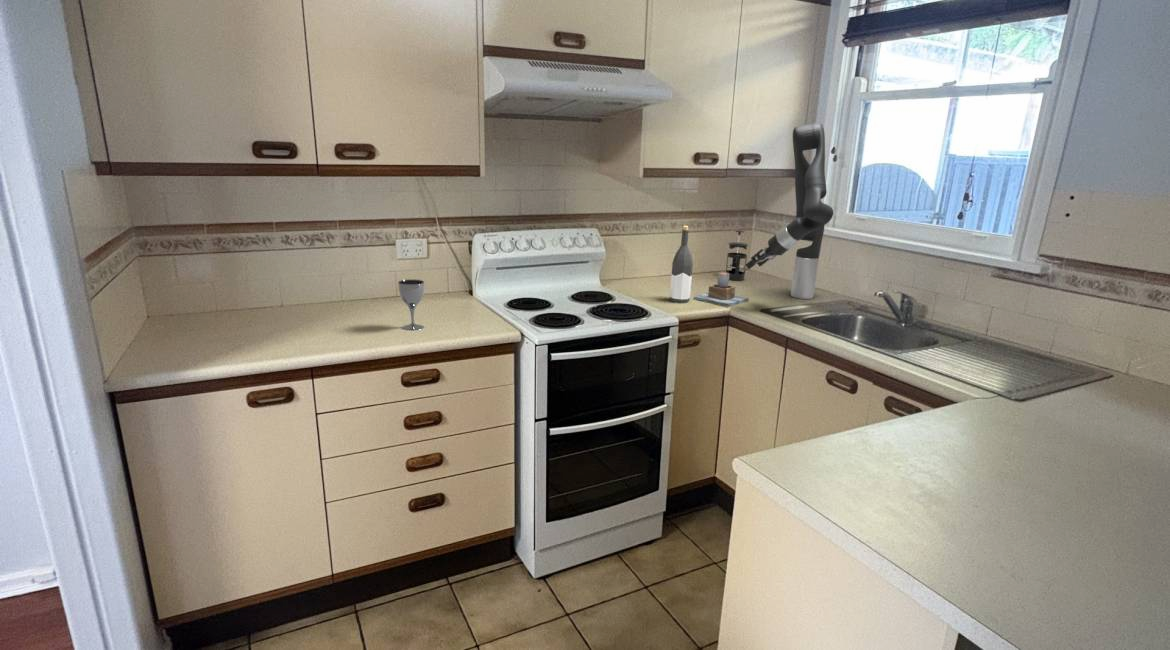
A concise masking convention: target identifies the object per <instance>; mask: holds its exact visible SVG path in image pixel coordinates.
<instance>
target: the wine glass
mask: <svg viewBox="0 0 1170 650" xmlns="http://www.w3.org/2000/svg"><path fill="white" fill-rule="evenodd" d="M397 284H398V285H397V286H398V294H399V298H400V300H401V301H402V302H403V304H405V305H406V306H407V308H408V309H409V312H410V318H411V322H410V323H408V324H405V325H404V324H403V325H402V326H401V329H402V330H406V331H419V330H423V329H424V328H425V326H424V325H423V324H419V323H415V310H416V308H417V307H418V305H419V304H420V303H421V301H422V300H423V297H424V294H425V293H424V292H425V281H424V280H422V279H418V278H417V279H415V278H411V279H400V280H398V283H397Z"/></svg>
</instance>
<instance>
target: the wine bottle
mask: <svg viewBox="0 0 1170 650" xmlns="http://www.w3.org/2000/svg"><path fill="white" fill-rule="evenodd" d="M689 232H690V229H689V226H688V225H683V226H682V230H681V241H680V246H679V248H678V250H677V251H676V253H675V255H674V257H673V261H672V264H671V278H670V288H669V289H670V290H669V301H670V302H672V303H675V302H679V303H678V304H686V303H685V302H688V301H689V302H690V300H691V299H690V298H691V292H692V291H691V288H692V278H693V266H694V263H693V257H692V254H691V253H692V252H691V251H690V249H689V246H688V242H689V241H688V240H689ZM689 302H688V303H689Z"/></svg>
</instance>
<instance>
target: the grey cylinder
mask: <svg viewBox="0 0 1170 650" xmlns="http://www.w3.org/2000/svg"><path fill="white" fill-rule="evenodd" d="M729 281H730V280H729V273H726V271H719V272H718V273H717V283H716V284H717V287H719V288H723V289H726V288H728V285H729Z"/></svg>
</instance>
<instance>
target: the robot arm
mask: <svg viewBox="0 0 1170 650" xmlns="http://www.w3.org/2000/svg"><path fill="white" fill-rule="evenodd" d="M792 130H793V131H792V146H793V147H792V148H793V158H794V187H795V188H794V191H795V205H796V207H795V218H794V219H793V220H792V221H791V222H790V223H788V224H787V225H786V226H784V227H783V228H781V229H780V230H779V231H778V232H776V233H775V234H774V235H773V236H772V237H770V238H769V239H768V241H767V244H768V247H764V248H761V249H760V250H758V251H757V252H756V253H755V254H754V255H752V256H751V257H750V259H751V260H749V261H748V262H746V268H747V270H751V269H752V268H753V267H754V266H756V265H758V266H759V267H762V266H763V265H765V263H767V262H769V261H770V260H772V261H773V259H774V258H776V257H777V256H783V255H784V254H785V253H786V252H788V251H789V250H790V249H791V248H793V247H794V246H795V245H796V244H797V243H798V242H799V241H808V242H811V244H810V245H808V246H806V247H805V246H804V247H800V248H798V249H797V250H796V252H795V253H796V254H795V259H794V269H793V274H792V275H793V276H792V282H791V283H792V284H791V290H790V296H791V297H793V298H795V299H801V300H802V299H803V300H812V299H814V294H815V287H816V282H817V281H816V280H817V274H818V266H819V260H820V253H821V248H822V242H823V238H824V237H823V236H824V232H825V226H826V225H827V224H828V223H829V222H830V221H831V220H832V218H833V216H834V209H833V207H832V206H830V205H828V204H826V203H825V202H823V201H822V199H824V198H825V197H826V195H827V191H828V190H827V184H826V174H825V173H826V172H825V171H826V169H825V168H826V165H825V164H826V136H825V128H824V125H823V124H822V123H821V122H815V123H807V124H802V125H797V126H794V128H793V129H792ZM811 150H815V156H814V158H813V159H812V161H811V163H810V162H808V160H807V157H805V155H804V151H811Z"/></svg>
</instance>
